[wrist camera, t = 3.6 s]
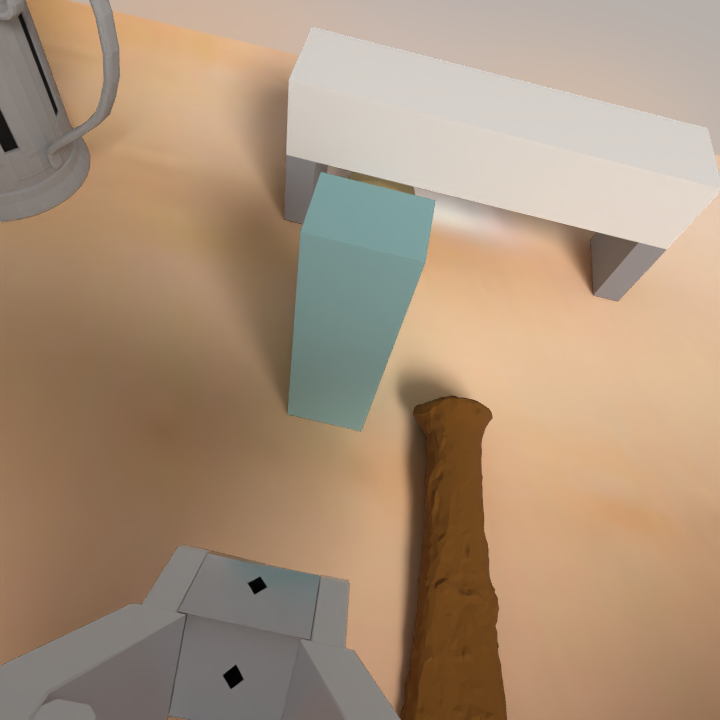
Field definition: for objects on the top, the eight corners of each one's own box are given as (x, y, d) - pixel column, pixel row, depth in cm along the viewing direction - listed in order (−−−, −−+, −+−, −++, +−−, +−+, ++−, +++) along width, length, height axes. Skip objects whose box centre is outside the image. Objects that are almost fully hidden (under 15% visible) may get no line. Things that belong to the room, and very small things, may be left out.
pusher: (401, 251, 31) (467, 42, 21) (366, 432, 25) (434, 264, 15) (334, 235, 31) (366, 16, 21) (282, 413, 25) (291, 229, 15)
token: (412, 198, 34) (418, 175, 32) (402, 245, 32) (409, 222, 30) (349, 182, 33) (353, 159, 32) (336, 228, 31) (339, 205, 30)
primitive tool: (538, 973, 17) (595, 1037, 14) (367, 983, 16) (388, 1052, 13) (477, 418, 27) (503, 386, 24) (368, 411, 26) (381, 376, 23)
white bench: (613, 245, 34) (707, 128, 26) (618, 301, 31) (722, 189, 24) (302, 168, 33) (312, 26, 26) (284, 219, 31) (288, 79, 24)
